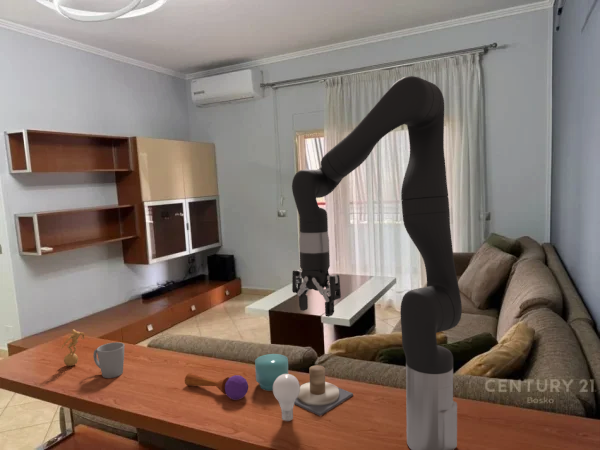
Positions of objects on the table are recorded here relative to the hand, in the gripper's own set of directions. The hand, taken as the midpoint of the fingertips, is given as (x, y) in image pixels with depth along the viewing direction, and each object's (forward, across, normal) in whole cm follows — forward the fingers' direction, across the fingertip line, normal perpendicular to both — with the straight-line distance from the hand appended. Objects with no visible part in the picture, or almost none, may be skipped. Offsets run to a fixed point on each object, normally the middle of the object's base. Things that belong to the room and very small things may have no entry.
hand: (316, 312), depth 107 cm
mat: (+22, 0, 0) cm, 22 cm away
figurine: (+22, +72, +35) cm, 83 cm away
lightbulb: (+22, -2, +13) cm, 26 cm away
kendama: (+23, +23, +16) cm, 36 cm away
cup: (+22, +57, +30) cm, 68 cm away
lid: (+22, 0, 0) cm, 22 cm away
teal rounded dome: (+22, +14, +3) cm, 27 cm away
